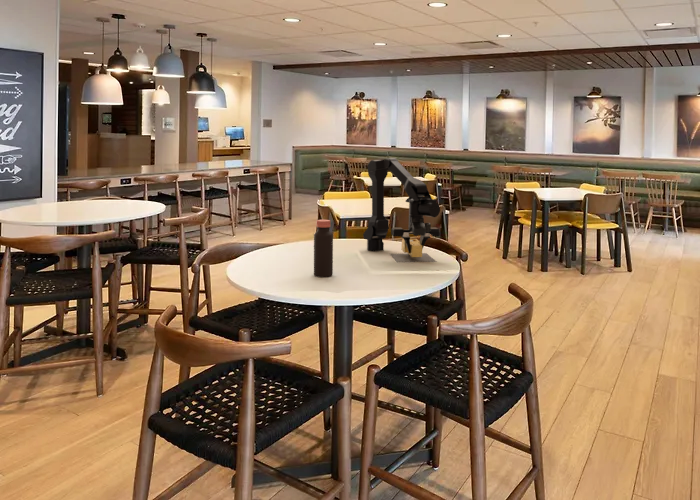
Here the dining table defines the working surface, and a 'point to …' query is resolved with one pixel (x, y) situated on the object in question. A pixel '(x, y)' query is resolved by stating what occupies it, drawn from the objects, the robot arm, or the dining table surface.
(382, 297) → the dining table surface
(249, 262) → the dining table surface
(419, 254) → the tan long block
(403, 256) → the stand
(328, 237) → the bottle
